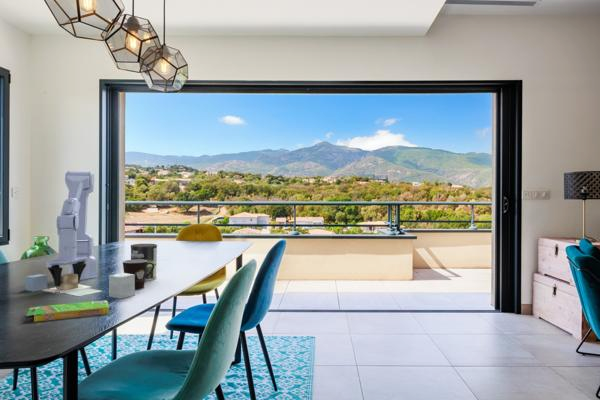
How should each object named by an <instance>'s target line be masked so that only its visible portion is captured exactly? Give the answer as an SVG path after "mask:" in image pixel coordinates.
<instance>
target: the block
mask: <svg viewBox="0 0 600 400" xmlns="http://www.w3.org/2000/svg"><path fill="white" fill-rule="evenodd" d="M78 284H79V283H78V274H73V273H70V272H68V273H63V274H62V273H61V285H60V286H56V287H57V289H60V290H70V289H75V288H78Z"/></svg>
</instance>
